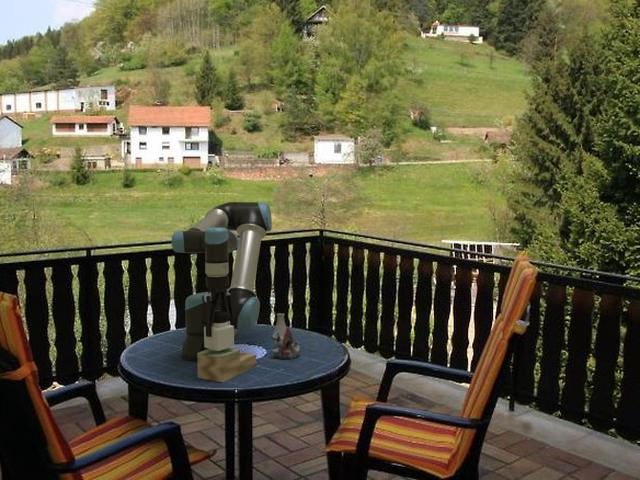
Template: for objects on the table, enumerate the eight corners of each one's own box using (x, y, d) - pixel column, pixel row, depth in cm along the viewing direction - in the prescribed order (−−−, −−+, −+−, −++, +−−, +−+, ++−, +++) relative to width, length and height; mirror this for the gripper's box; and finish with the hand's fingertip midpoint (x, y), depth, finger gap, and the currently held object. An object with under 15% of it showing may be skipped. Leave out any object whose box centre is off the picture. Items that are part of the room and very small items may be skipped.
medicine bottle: (234, 346, 212) (234, 311, 211) (217, 351, 207) (217, 315, 205) (220, 343, 217) (219, 308, 215) (203, 347, 211) (203, 311, 210)
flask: (293, 337, 263) (292, 313, 262) (283, 341, 257) (282, 316, 256) (278, 335, 267) (278, 311, 266) (268, 338, 261) (268, 314, 260)
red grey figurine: (299, 355, 228) (280, 327, 229) (276, 371, 232) (258, 344, 233) (309, 347, 239) (291, 320, 240) (287, 362, 242) (269, 336, 244)
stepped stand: (197, 377, 211) (197, 353, 210) (232, 362, 228) (232, 339, 228) (222, 382, 206) (222, 356, 205) (256, 365, 224) (256, 342, 223)
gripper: (207, 280, 198) (208, 352, 201) (244, 271, 217) (245, 337, 219) (187, 278, 202) (189, 349, 204) (226, 269, 220) (227, 334, 223)
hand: (218, 342), depth 212 cm, fingers closed on medicine bottle, 8 cm apart
